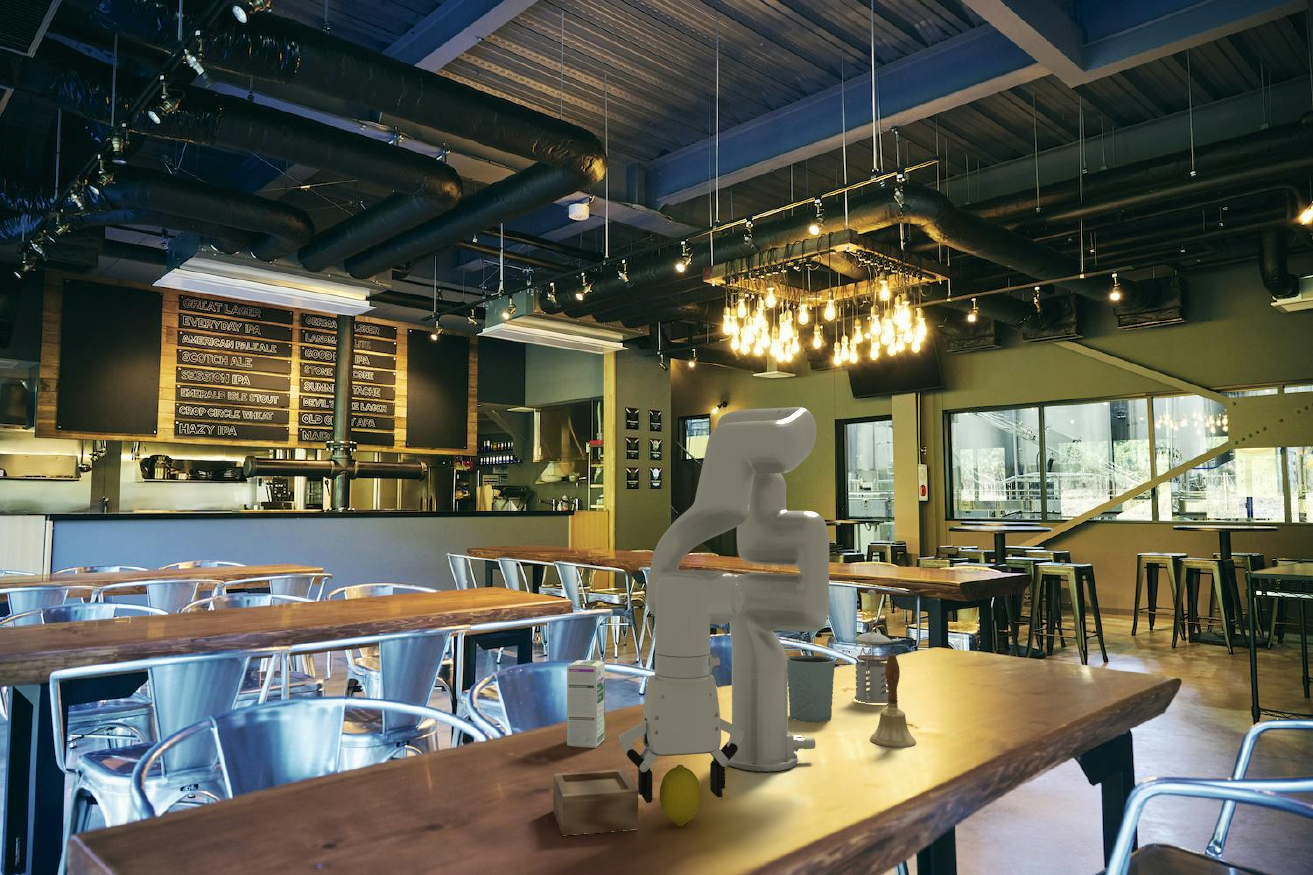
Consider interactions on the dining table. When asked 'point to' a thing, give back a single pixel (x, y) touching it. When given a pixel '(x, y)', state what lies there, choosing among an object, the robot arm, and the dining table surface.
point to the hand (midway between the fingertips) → (681, 796)
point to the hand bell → (892, 713)
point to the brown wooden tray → (595, 802)
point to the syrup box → (586, 703)
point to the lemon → (680, 795)
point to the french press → (871, 668)
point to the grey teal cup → (810, 687)
